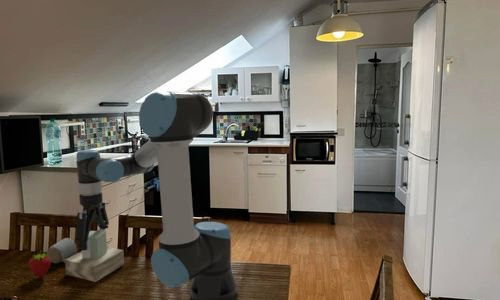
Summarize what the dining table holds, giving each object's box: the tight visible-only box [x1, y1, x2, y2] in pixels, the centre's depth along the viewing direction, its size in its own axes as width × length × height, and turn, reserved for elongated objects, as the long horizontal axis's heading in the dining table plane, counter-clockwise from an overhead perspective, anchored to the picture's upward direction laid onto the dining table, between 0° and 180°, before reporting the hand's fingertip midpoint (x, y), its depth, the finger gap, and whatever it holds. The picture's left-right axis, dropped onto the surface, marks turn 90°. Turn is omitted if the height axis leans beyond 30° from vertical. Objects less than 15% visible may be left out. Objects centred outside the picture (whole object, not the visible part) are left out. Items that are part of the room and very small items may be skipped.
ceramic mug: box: [46, 237, 79, 265], centre depth 133 cm, size 11×8×8 cm
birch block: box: [64, 246, 125, 283], centre depth 127 cm, size 14×14×6 cm
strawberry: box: [28, 251, 52, 279], centre depth 120 cm, size 6×8×10 cm
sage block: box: [88, 230, 108, 259], centre depth 126 cm, size 6×6×8 cm
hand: (94, 251), depth 126 cm, fingers open, 10 cm apart
